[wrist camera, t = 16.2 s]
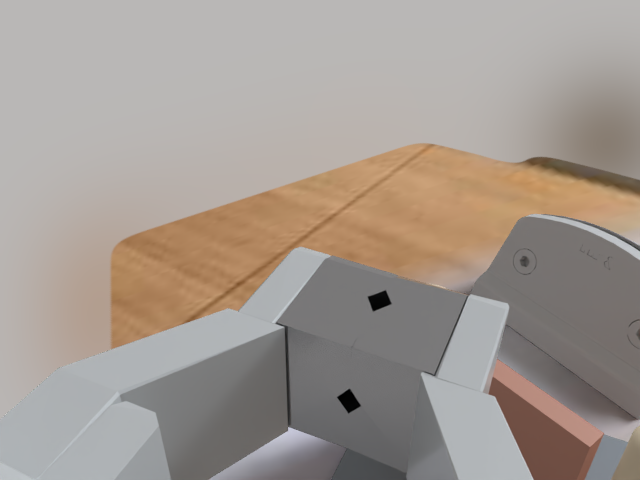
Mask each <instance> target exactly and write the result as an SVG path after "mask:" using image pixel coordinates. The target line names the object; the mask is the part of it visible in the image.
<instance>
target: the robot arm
mask: <svg viewBox="0 0 640 480" xmlns="http://www.w3.org/2000/svg"><path fill="white" fill-rule="evenodd" d="M508 312H509V305H508V303H504V302H500V301H496V300H492V299H488V298H484V297H480V296H476V295H472V294H471V295H467V294H463V293H460V292H456V291H452V290H449V289H445V288H441V287H438V286H434V285H430V284H427V283H423V282H419V281H416V280H412V279H408V278H405V277H401V276H398V275H395V274H392V273H389V272H386V271H382V270H379V269H376V268H372V267H369V266H366V265H362V264H359V263H356V262H352V261H349V260H346V259H342V258H339V257H336V256H330V255H328V254H324V253H321V252H317V251H314V250H310V249H307V248H304V247H298V248H295V249H293V250H292V251H291V252H290V253H289V254H288V255H287V256H286V257H285V259H284V260H283V261H282V262H281V263H280V264H279V265H278V266H277V268H276V269H275V270H274V271H273V272H272V273H271V274H270V276H269V277H268V278H267V279H266V280H265V281H264V282H263V283H262V285H261V286H260V287H259V288H258V289H257V290H256V291H255V293H254V294H253V295H252V296H251V297H250V298H249V299H248V300H247V302H246V303H245V304H244V305H243V306H242V307H241V308H240V309H239V311H235V310H232V309H229V308H228V309H226V310H223V311H220V312H217V313H214V314H211V315H208V316H206V317H203V318H200V319H197V320H194V321H191V322H188V323H186V324H183V325H180V326H177V327H174V328H171V329H168V330H166V331H163V332H160V333H157V334H154V335H151V336H149V337H146V338H143V339H140V340H137V341H134V342H131V343H129V344H126V345H123V346H120V347H117V348H114V349H111V350H109V351H106V352H103V353H100V354H97V355H94V356H91V357H89V358H86V359H83V360H80V361H77V362H75V363H71V364H69V365H66V366H63V367H60V368H58V369H57V370H55V371H54V372H53V373H52V374H51V375H50V376H49V377H48V378H46V379H45V380H44V381H43V382H42V383H41V384H40V385H39V386H37V387H36V388H35V389H34V390H33V391H32V392H31V393H30V394H28V395H27V396H26V397H25V398H24V399H23V400H22V401H20V402H19V403H18V404H17V405H16V406H15V407H14V408H13V409H11V410H10V411H9V412H8V413H7V414H6V415H5V416H4V417H2V418H1V419H0V480H208V479H210V478H211V477H213V476H215V475H216V474H218V473H219V472H221V471H223V470H224V469H226V468H228V467H229V466H231V465H233V464H234V463H236V462H237V461H239V460H241V459H242V458H244V457H246V456H247V455H249V454H251V453H252V452H254V451H255V450H257V449H259V448H260V447H262V446H264V445H265V444H267V443H268V442H270V441H272V440H273V439H275V438H277V437H278V436H280V435H282V434H283V433H285V432H286V431H288V427H290V428H293V429H296V430H299V431H301V432H304V433H307V434H310V435H312V436H315V437H318V438H321V439H323V440H326V441H329V442H332V443H335V444H337V445H340V446H343V447H346V448H348V449H350V450H353V451H355V452H357V453H360V454H362V455H365V456H367V457H369V458H372V459H374V460H376V461H379V462H381V463H383V464H386V465H388V466H390V467H393V468H395V469H398V470H400V471H402V472H405V473H407V475H406V478H407V480H533V477H532V475H531V473H530V471H529V469H528V467H527V464H526V462H525V460H524V458H523V456H522V454H521V451H520V449H519V447H518V445H517V443H516V441H515V439H514V436H513V434H512V432H511V430H510V428H509V426H508V423H507V421H506V419H505V417H504V415H503V413H502V411H501V408H500V406H499V404H498V402H497V400H496V398H495V397H494V396H492V395H489V394H488V393H489V389H490V385H491V381H492V377H493V373H494V369H495V365H496V361H497V357H498V353H499V349H500V345H501V341H502V337H503V333H504V329H505V325H506V321H507V317H508Z"/></svg>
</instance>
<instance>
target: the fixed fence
mask: <svg viewBox="0 0 640 480" xmlns="http://www.w3.org/2000/svg"><path fill="white" fill-rule="evenodd" d="M611 480H640V426H639V427H637V428H636V429H635V430H634V431H633V433H632V436H631V438H630V440H629V442H628V444H627V446H626V449H625V451H624V453H623V455H622V457H621V459H620V461H619V464H618V466H617V468H616V470H615V472H614V474H613V477H612V479H611Z"/></svg>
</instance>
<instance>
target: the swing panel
mask: <svg viewBox="0 0 640 480" xmlns="http://www.w3.org/2000/svg"><path fill="white" fill-rule="evenodd" d="M430 285H434V284H430ZM434 286H438V285H434ZM438 287H441V288H444V287H442V286H438ZM445 289H447V288H445ZM488 394H489V395H492V396H494V397H495V398H496V400H497V402H498V404H499V406H500V408H501V411H502V413H503V415H504V417H505V419H506V421H507V423H508V426H509V428H510V430H511V432H512V434H513V436H514V439H515V441H516V443H517V445H518V447H519V449H520V451H521V454H522V456H523V458H524V460H525V462H526V464H527V467H528V469H529V471H530V473H531V475H532V477H533V480H585V478H586V475H587V473H588V471H589V468H590V466H591V464H592V461H593V459H594V457H595V454H596V452H597V449H598V447H599V445H600V442H601V440H602V438H603V435H604V433H603V432H601V431H600V430H598V429H597V428H596V427H594V426H593V425H591V424H590V423H588V422H587V421H586V420H584V419H583V418H581V417H580V416H578V415H577V414H576V413H574V412H573V411H571V410H570V409H568V408H567V407H566V406H564V405H563V404H561V403H560V402H558V401H557V400H556V399H554V398H553V397H551V396H550V395H548V394H547V393H546V392H544V391H543V390H541V389H540V388H538V387H537V386H535V385H534V384H533V383H531V382H530V381H528V380H527V379H525V378H524V377H523V376H521V375H520V374H518V373H517V372H515V371H514V370H513V369H511V368H510V367H508V366H507V365H505V364H504V363H503V362H501V361H500V360H498V359H497V361H496V365H495V369H494V373H493V377H492V381H491V385H490V389H489V393H488Z"/></svg>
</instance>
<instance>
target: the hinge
mask: <svg viewBox="0 0 640 480" xmlns="http://www.w3.org/2000/svg"><path fill="white" fill-rule="evenodd" d="M471 294H472V295H476V296H480V297H484V298H488V299H492V300H496V301H500V302H504V303H508V305H509V312H508V317H507V321H506V324H507V325H508V326H509V327H511V328H512V329H514V330H515V331H516V332H518V333H519V334H520V335H522V336H523V337H525V338H526V339H527V340H529V341H530V342H531V343H533V344H534V345H536V346H537V347H538V348H540V349H541V350H542V351H544V352H545V353H547V354H548V355H549V356H551V357H552V358H553V359H555V360H556V361H558V362H559V363H560V364H562V365H563V366H564V367H566V368H567V369H569V370H570V371H571V372H573V373H574V374H575V375H577V376H578V377H580V378H581V379H582V380H584V381H585V382H586V383H588V384H589V385H591V386H592V387H593V388H595V389H596V390H597V391H599V392H600V393H602V394H603V395H604V396H606V397H607V398H608V399H610V400H611V401H613V402H614V403H615V404H617V405H618V406H619V407H621V408H622V409H624V410H625V411H626V412H628V413H629V414H630V415H632V416H633V417H635V418H636V419H637V420H638V419H640V245H639V244H637V243H635V242H633V241H631V240H629V239H627V238H625V237H623V236H621V235H619V234H617V233H615V232H612V231H610V230H608V229H606V228H603V227H600V226H597V225H594V224H591V223H588V222H586V221H581V220H577V219H573V218H569V217H564V216H556V215H548V214H541V215H540V214H531V215H528V216H525V217H523V218H521V219H519V220H518V221H517V223H516V224H515V226H514V228H513V229H512V231H511V233H510V234H509V236H508V237H507V239H506V241H505V242H504V244H503V246H502V247H501V249H500V251H499V252H498V254H497V255H496V257H495V259H494V260H493V262H492V264H491V265H490V267H489V268H488V270H487V271H486V272H485V273H483V274H482V275H481V276H480V277H479V278H478V279H477V281H476V282H475V284H474V287H473V289H472V291H471V293H470V295H471Z"/></svg>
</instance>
